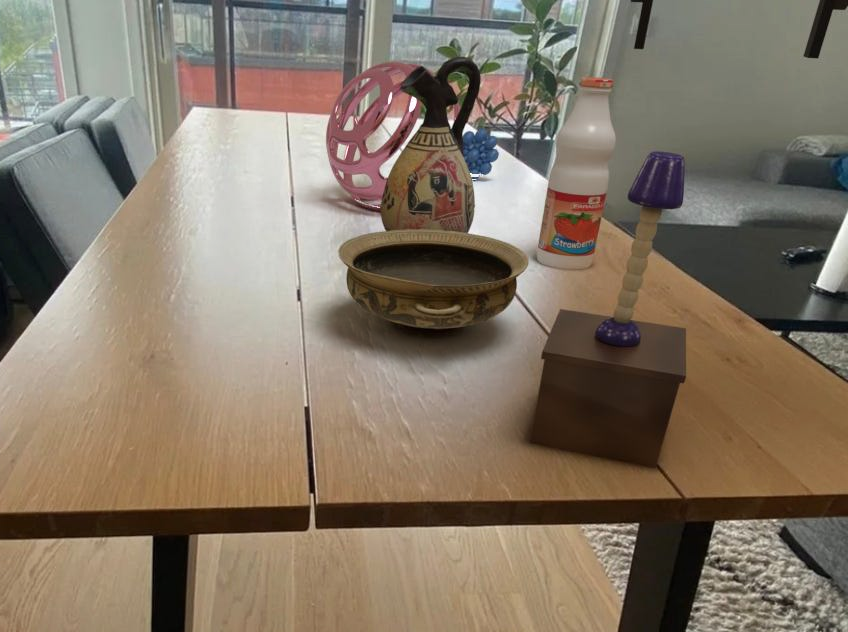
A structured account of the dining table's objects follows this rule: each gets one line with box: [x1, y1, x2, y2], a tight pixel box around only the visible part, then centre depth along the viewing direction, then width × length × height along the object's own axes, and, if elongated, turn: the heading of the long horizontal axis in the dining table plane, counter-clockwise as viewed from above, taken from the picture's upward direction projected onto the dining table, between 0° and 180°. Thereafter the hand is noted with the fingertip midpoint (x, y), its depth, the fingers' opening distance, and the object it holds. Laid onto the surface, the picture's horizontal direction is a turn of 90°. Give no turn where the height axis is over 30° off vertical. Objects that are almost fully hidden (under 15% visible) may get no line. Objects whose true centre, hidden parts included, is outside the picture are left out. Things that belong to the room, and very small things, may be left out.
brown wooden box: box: [529, 308, 687, 469], centre depth 76 cm, size 13×13×10 cm
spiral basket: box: [325, 60, 461, 212], centre depth 154 cm, size 28×28×27 cm
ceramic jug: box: [379, 56, 482, 233], centre depth 123 cm, size 17×15×30 cm
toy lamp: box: [595, 150, 686, 346], centre depth 69 cm, size 5×5×17 cm
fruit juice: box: [536, 76, 617, 271], centre depth 123 cm, size 9×9×28 cm
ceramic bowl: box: [337, 229, 530, 338], centre depth 99 cm, size 30×24×10 cm
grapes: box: [462, 128, 500, 180], centre depth 185 cm, size 12×7×12 cm, turn 71°
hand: (722, 53), depth 65 cm, fingers open, 13 cm apart
